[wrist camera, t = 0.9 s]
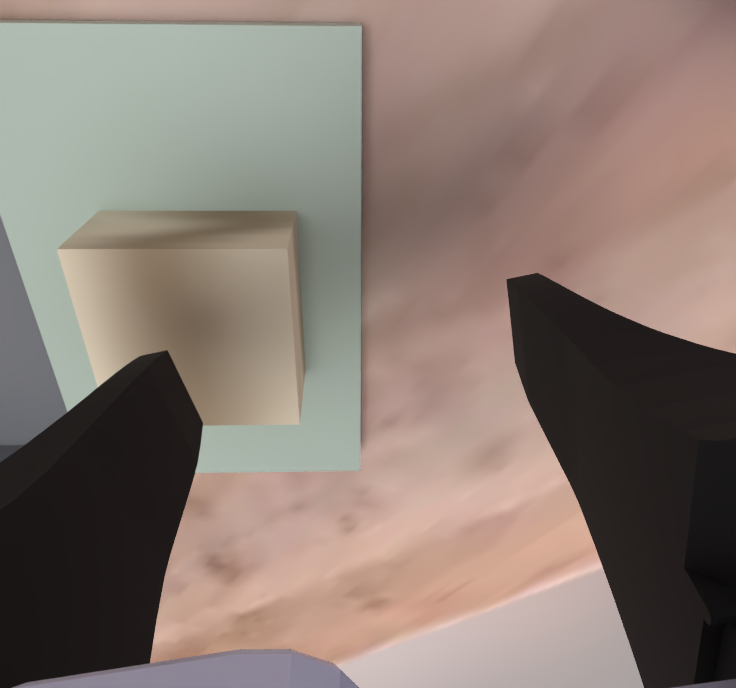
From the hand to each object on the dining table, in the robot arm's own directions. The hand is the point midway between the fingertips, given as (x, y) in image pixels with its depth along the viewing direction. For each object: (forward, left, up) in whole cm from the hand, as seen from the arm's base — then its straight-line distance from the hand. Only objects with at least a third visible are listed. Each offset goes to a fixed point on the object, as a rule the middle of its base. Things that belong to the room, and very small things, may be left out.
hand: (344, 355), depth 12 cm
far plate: (+5, +2, -9) cm, 10 cm away
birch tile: (+5, +2, -7) cm, 9 cm away
